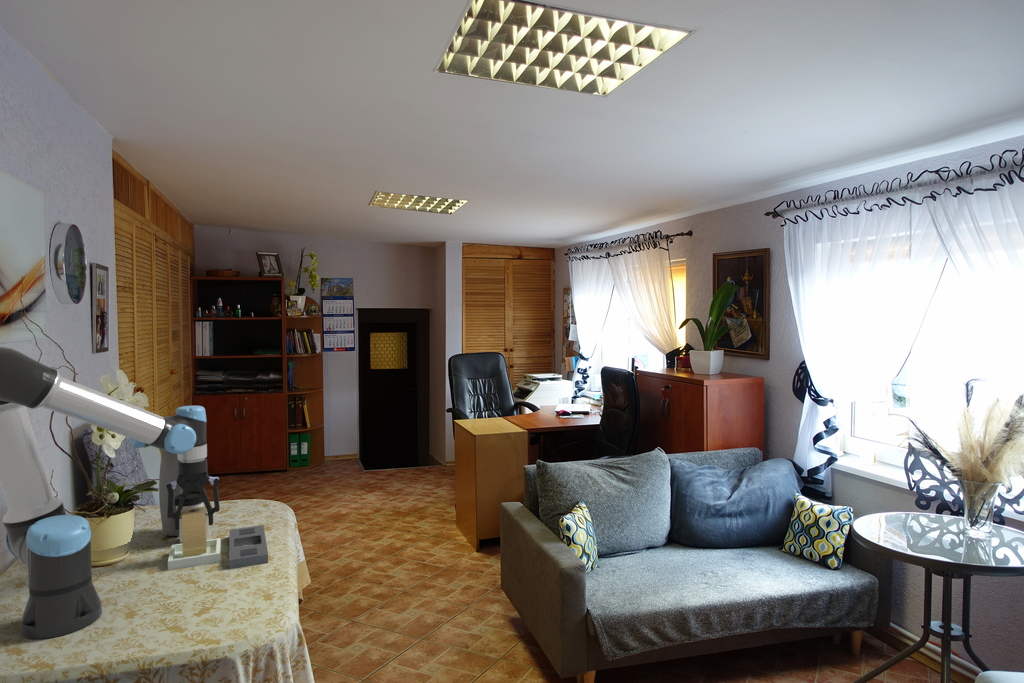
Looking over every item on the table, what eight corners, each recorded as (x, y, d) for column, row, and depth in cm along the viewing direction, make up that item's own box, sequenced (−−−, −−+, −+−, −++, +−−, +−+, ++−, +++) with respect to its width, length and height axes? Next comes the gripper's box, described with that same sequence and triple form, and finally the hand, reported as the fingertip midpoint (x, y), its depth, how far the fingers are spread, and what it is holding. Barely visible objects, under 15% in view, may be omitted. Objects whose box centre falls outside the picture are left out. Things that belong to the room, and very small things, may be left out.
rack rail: (268, 562, 172) (268, 553, 172) (229, 569, 168) (229, 559, 168) (263, 532, 196) (263, 524, 196) (229, 537, 192) (229, 529, 191)
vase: (169, 527, 201) (166, 438, 199) (208, 525, 203) (206, 436, 201) (153, 541, 189) (149, 446, 187) (194, 538, 191) (192, 444, 189)
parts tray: (220, 561, 173) (219, 553, 173) (168, 570, 167) (167, 561, 167) (220, 545, 185) (220, 537, 184) (172, 553, 179) (171, 545, 179)
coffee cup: (210, 540, 189) (208, 493, 188) (181, 548, 183) (179, 499, 182) (199, 534, 195) (198, 488, 194) (171, 541, 188) (169, 494, 188)
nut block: (206, 553, 174) (205, 511, 174) (182, 556, 172) (181, 514, 171) (207, 545, 180) (205, 505, 179) (184, 549, 177) (183, 508, 177)
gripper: (228, 453, 182) (230, 528, 183) (156, 460, 174) (158, 538, 175) (228, 458, 175) (230, 537, 176) (153, 466, 167) (155, 548, 168)
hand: (194, 537), depth 176 cm, fingers closed on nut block, 6 cm apart
